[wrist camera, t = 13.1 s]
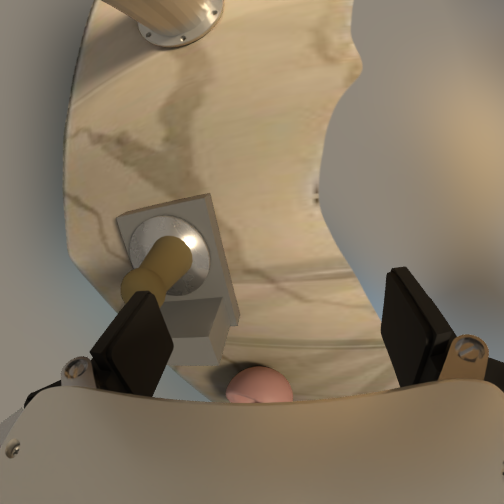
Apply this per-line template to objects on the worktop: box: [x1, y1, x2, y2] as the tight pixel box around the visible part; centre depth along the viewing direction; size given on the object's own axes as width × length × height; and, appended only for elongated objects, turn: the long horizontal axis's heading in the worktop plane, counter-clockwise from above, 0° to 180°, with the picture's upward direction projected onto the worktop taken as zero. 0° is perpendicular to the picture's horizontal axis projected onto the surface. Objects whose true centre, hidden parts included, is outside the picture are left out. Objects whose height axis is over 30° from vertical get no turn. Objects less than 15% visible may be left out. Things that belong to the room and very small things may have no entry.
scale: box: [116, 193, 240, 366], centre depth 37 cm, size 20×14×12 cm
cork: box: [121, 236, 193, 308], centre depth 32 cm, size 6×6×11 cm
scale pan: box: [130, 215, 211, 296], centre depth 38 cm, size 12×12×1 cm
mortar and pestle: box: [226, 366, 293, 403], centre depth 45 cm, size 12×12×11 cm
